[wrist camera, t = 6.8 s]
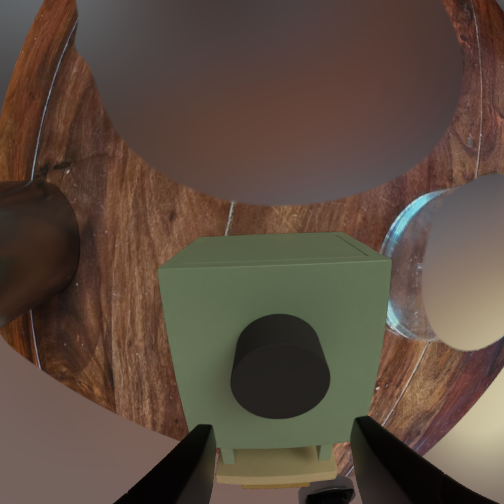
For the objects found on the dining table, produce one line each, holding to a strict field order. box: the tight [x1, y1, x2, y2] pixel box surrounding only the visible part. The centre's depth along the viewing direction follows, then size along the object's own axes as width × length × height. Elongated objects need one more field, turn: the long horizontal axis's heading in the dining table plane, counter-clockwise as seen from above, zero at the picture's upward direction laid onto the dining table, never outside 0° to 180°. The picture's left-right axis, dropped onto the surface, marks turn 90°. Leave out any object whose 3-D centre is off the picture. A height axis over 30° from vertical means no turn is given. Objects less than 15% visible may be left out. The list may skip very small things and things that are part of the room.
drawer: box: [215, 444, 338, 489], centre depth 18 cm, size 13×8×6 cm, turn 3°
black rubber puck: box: [230, 314, 331, 419], centre depth 11 cm, size 4×4×2 cm
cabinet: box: [157, 232, 392, 449], centre depth 16 cm, size 11×10×8 cm
